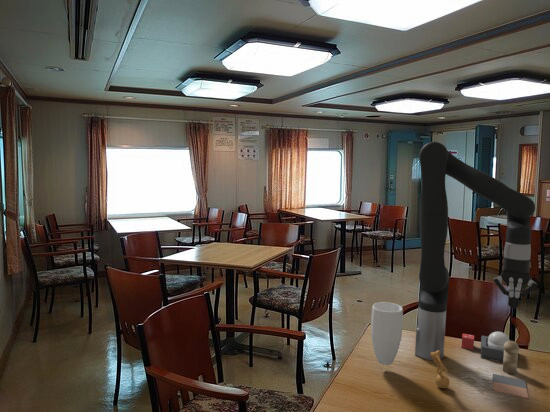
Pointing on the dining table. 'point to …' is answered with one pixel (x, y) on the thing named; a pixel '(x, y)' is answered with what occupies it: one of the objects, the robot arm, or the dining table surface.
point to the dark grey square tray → (491, 351)
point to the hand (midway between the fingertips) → (512, 307)
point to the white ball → (497, 340)
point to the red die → (467, 341)
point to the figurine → (441, 379)
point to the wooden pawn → (510, 357)
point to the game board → (510, 386)
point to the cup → (386, 331)
